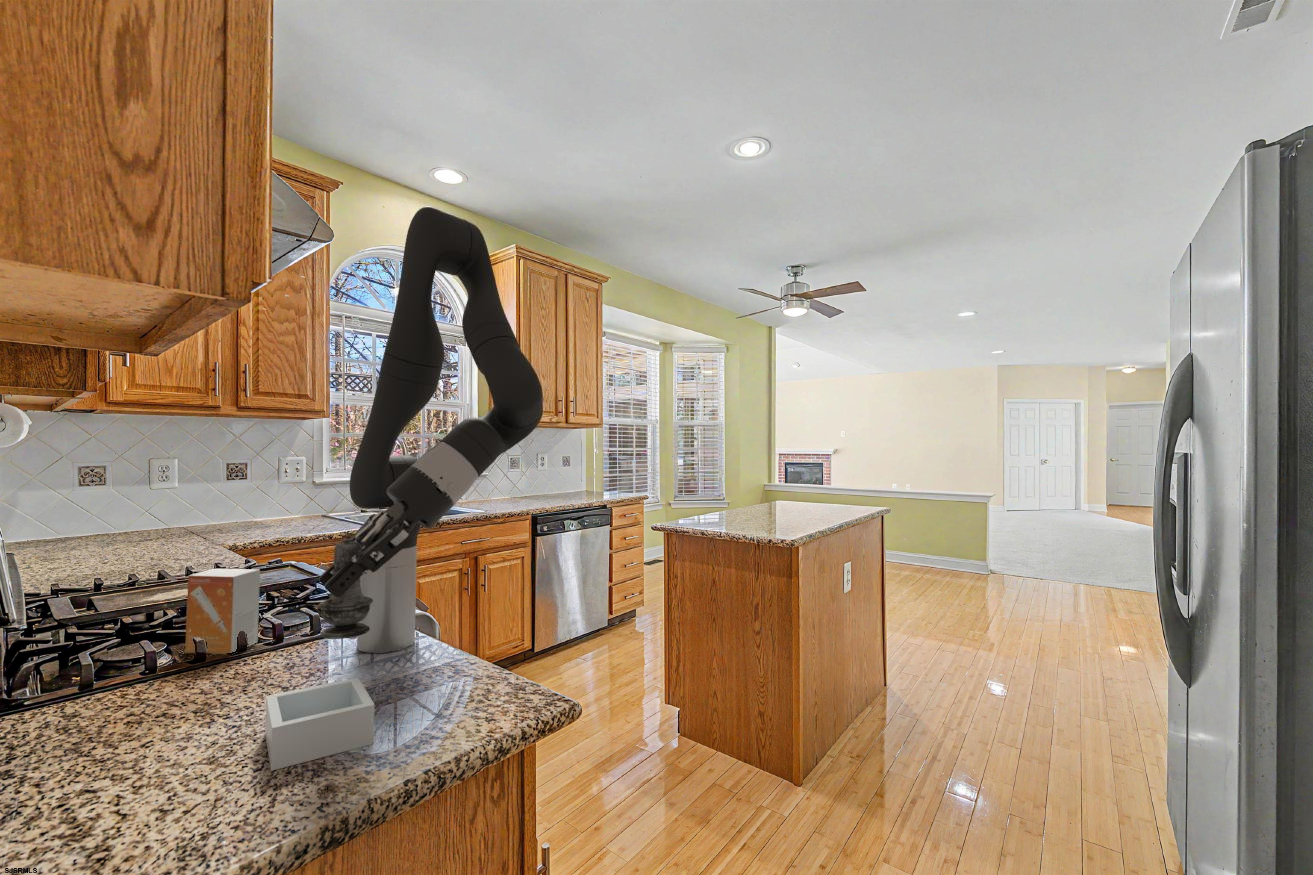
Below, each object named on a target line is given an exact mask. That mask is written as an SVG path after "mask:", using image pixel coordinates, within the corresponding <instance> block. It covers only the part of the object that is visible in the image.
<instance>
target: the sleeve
mask: <svg viewBox="0 0 1313 875" xmlns="http://www.w3.org/2000/svg"><path fill="white" fill-rule="evenodd" d="M265 698H266V699H265V720H264V721H265V723H264V724H265V728H264V730H265V732H264V735H265V736H264V737H265V742H266V749H267V754H268V761H269V767H270V771H271V772H273V771H275V770H276V771H277V770H281V769H283V768H287V767H291V766H294V765H298V764H302V763H303V764H304V763H306V762H309V761H314V760H318V759H320V758H324V757H328V756H332V755H337V754H340V753H344V752H347V751H352V750H355V749H358V748H359V749H360V748H362V747H363V748H364V747H367V746H370V745H374V744H375V742H374V738H375V735H374V734H375V703H374V700H372V698H371V696H370V695H369V693H368V692H367V690H366V688H365V686H364V685H363V683H362V682H361V680H360V678H359V677H354V678H349V679H345V680H340V681H334V682H329V683H325V684H321V685H314V686H309V687H304V688H300V689H296V690H295V689H294V690H290V691H285V692H279V693H275V694H270V695H266V696H265Z"/></svg>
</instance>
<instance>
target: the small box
mask: <svg viewBox="0 0 1313 875" xmlns="http://www.w3.org/2000/svg"><path fill="white" fill-rule="evenodd" d="M260 575H261V569H259V568H257V569H256V568H255V569H249V568H248V569H246V568H213V569H208V570H204V571H199V572H196V573H193V574H190V575H188V576H187V578H188V579H187V596H186V598H187V600H186V602H187V603H186V622H185V623H186V624H185V649H184V650H185V651H184V652H185V653H186V654H196V653H195V644H194V642H193V637H200V638H201V639H204V640H205V641H206V642H207V647H208V651H209V653H210V655H214V654H215V655H227V654H226V653H232V652H235V651H236V649H237V637H238V634H239V632H240V631H244V632H245V633H246V634H247V638H248V644H249V645H250V646H249V647H251V645H252V646H254V645H255V643H256V644H257V643H258V639H259V637H258V636H259V610H260V609H259V604H260V577H261V576H260ZM209 653H208V654H209Z"/></svg>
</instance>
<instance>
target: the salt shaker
mask: <svg viewBox="0 0 1313 875" xmlns="http://www.w3.org/2000/svg"><path fill="white" fill-rule="evenodd" d="M344 537H345V539H343V540H342V541H339V542H338V543H336V544H335V546H334V554H333V563H334V569H333V570H332V571H330V573H331V574H332V575H335V574H336V573H337V572H338V571H339V570H340V569H341V568H342V567H343V566H344V565H345V564H346V563H347V562H350V559H351V557H352V556H353V555H354V554H355V553H356V552H357V551H358V550H359V549H360V548H361V547H360V544H359V543H358V542H356V541H353V540H352V539H351V538H352V535H351V534H350V532H347V533H345V535H344ZM350 563H351V562H350ZM360 583H361V577H360V578H359V579H358V580H357V581H356V582H355V583H354V584H353V585H352V586H351V587H350V588H349V589H348V590H347V591H346V592H345V593H344V594H343V595H342V596H340V597H335V596H334V595H332V594H331V593H330V597H329V598H328V599H326V600H324V601H321V602H320V603H318V608H319V609H320V610H321V611H320V612H321V616H322V618H323V620H324V621H325V622H326V623H328V625H330V626H328V627H326V628H325V629H323V630H322V631H321V632H320V637H321V638H323V639H326V640H327V639H328V640H341V639H342V640H343V639H350V638H355V637H356V638H357V636H360V635H363V634H365V633H367V632H368V631H369V630H370V627H368V626H367V625H365V624H363V623H358V622H360V621H362V620H363V619H364V618H365V617H366V616H367V614H368V612H369V610H370V604H371V603H372V602H373V599H372V598H370V597H365V596H364V595H363V594H362V591H361V586H360Z"/></svg>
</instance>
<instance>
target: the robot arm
mask: <svg viewBox="0 0 1313 875" xmlns="http://www.w3.org/2000/svg"><path fill="white" fill-rule="evenodd" d="M436 272H440V273H444V274H447V275H450V276H453V277H454V276H455V277H457V278H458V279H459V280H460V282H461V284H462V285H463V287H464V288H465V291H466V294H467V300H466V304H465V307H464V310H463V314H462V320H461V327H462V332H463V337H464V340H465V342H466V344H467V347H468V350H469V352H470V354H471V357H472V359H473V361H474V363H475V365H476V367H477V369H478V370H479V372H480V373H481V375H483V376H484V379H485V381H486V383H487V386H488V390H489V392H490V395H491V396H490V397H491V399H492V405H493V407H492V408H491V409H490V410H489V411H488V412H487V413H485V414H484V415H482V416H481V417H479V418H478V417H474V416H470V417H467V418H465V419H464V420H461V421H460V422H459V423H458V424H457V425H456V426H455V427H454V428H453V429H451V430H450V431H449V432H448V433H447V434H446V435H445V436H444V437H443V438H442V439H441V440H440V441H439V442H438V443H436V444H435V445H434V446H432V447H431V448H429V449H428V450H427V451H426V452H424V453H423V454H422V455H421V456H420V457H419V458H418V459H417V458H415V457H414V456H412V455H406V454H405V455H402V454H401V455H400V454H392V452H393V450H394V447H395V444H396V442H397V440H398V438H399V437H400V435H401V433H402V432H403V431H404V429H405V428H406V427H407V426H408V424H409V423H410V422H411V421H413V419H414V418H415V417H416V416H418V414H419V413H420V412H421V411H422V410H423V409H424V407H426V406H427V404H428V403H429V402H430V401H431V399H432V398H433V396H434V395H435V394H436V391H437V388H438V385H439V382H440V377H441V373H442V370H443V365H444V362H445V347H444V341H443V339H442V335H441V332H440V330H439V327H438V323H437V320H436V316H435V314H434V309H433V303H432V297H433V296H432V295H433V286H434V279H435V274H436ZM496 280H497V279H496V277H495V273H494V270H493V265H492V261H491V257H490V252H489V249H488V246H487V242H486V240H485V237H484V234H483V233H482V231H481V229H480V228H479V227H478V226H477V225H476V224H474V223H473V222H471V221H468V220H467V219H465V218H461V217H460V216H457V215H454V214H451V213H449V212H447V211H444V210H442V209H440V208H436V207H433V206H426V205H425V206H423V207H421V208H419V209H418V210H417V211H416V212H415V214H414V215H413V217H412V218H411V221H410V224H409V226H408V230H407V233H406V237H405V244H404V250H403V257H402V263H401V271H400V279H399V285H398V292H397V298H396V303H395V308H394V311H393V312H394V313H393V317H392V321H391V326H390V329H389V334H388V336H387V341H386V345H385V348H384V351H383V355H382V361H381V364H380V369H379V374H378V380H377V384H376V385H377V386H376V389H375V392H374V397H373V401H372V406H371V409H370V414H369V417H368V420H367V423H366V426H365V430H364V432H363V434H362V438H361V441H360V444H359V446H358V450H357V452H356V456H355V458H354V460H353V461H354V462H353V463H352V464H353V465H352V469H351V471H350V472H351V473H350V477H349V495H350V498H351V501H352V502H353V504H354V505H355V506H356V507H357V508H360V509H365V510H367V509H369V510H370V509H372V510H373V509H386V508H387V509H386V510H384V511H383V510H380V511H378V513H372V514H370V516H368V518H367V519H366V520H365V522H364V523H363V524H362V525H361V526H360V527H359V529H358V530H356V532H355V533H354V534H353V535H351V537H350V539H352V540H353V541H356V542H358V543H359V544H360V547H361V548H360V549H359V550H358V551H357V552H356V553H355V554H354V555H353V556H352V557H351V559H350V562H351V563H350V562H347V563H346V564H345V565H344V566H343V567H342V568H341V569H340V570H339V571H338V572H337V573H336V574H335V575H332V574H331V573H330V571H332V570H333V569H334V562H333V563H332V564H331V565H330V566H329V567H328V568H327V569H326V570H325V571H324V572H323V573H322V574H321V575H320V576H319V578H318V580H319V582H320V583H321V584H322V585H323V586H324V588H325V590H326V591H328V593H330V595H331V594H332V595H334V596H335V597H340V596H342V595H343V594H344V593H345V592H346V591H347V590H348V589H349V588H350V587H351V586H352V585H353V584H354V583H355V582H356V581H357V580H358V579H359V578H360V577H361V583H360V586H361V591H362V594H363V595H364V596H365V597H370V598H372V599H373V602H372V603H371V604H370V610H369V612H368V614H367V616H366V617H365V618H364V619H363V620H362V621H360V622H358V623H363V624H365V625H367V626H368V627H370V630H369V631H368V632H367V633H365V634H363V635H360V636H356V649H357V650H358V651H360V652H362V653H367V654H368V653H369V654H382V653H384V654H385V653H391V652H390V651H392V652H396V650H397V651H399V649H400V650H404V649H407V648H409V647H410V645H411V646H413V645H414V644H415V638H416V637H415V636H416V610H417V609H416V606H417V605H416V600H417V597H416V596H417V564H418V563H417V561H418V560H417V558H418V557H417V554H418V553H417V550H418V545H417V544H418V536H419V532H420V530H421V526H422V527H423V528H424V529H425V528H426V529H432V528H433V527H435V525H436V524H437V523H438V522H439V521H440V520H441V519H442V518H443V517H444V516H445V515H446V514H447V513H448V512H449V511H450V510H451V509H452V508H453V507H454V506H455V505H456V504H457V503H458V502H459V501H460V500H461V499H462V498H463V496H465V494H467V493H468V492H469V490H470V489H471V488H472V486H473V485H474V483H475V482H476V481H477V480H478V479H479V478H480V476H482V475H483V473H484V472H486V470H487V469H488V468H489V467H490V466H491V465H492V464H493V463H495V461H496V460H497V459H498V458H499V457H500V455H503V453H505V452H507V451H509V450H510V449H512V448H513V447H514V446H516V445H518V444H519V443H520V442H521V441H524V440H525V439H526V438H527V437H528V436H529V435H530V434H532V432H534V430H535V429H536V428H537V427H538V425H539V424H540V422H541V420H542V419H543V418H542V417H543V415H544V399H543V398H544V396H543V395H544V394H543V393H544V392H543V387H542V384H541V381H540V379H539V376H538V374H537V372H536V370H535V368H534V366H532V364H531V363H530V361H529V360H528V358H527V357H526V355H525V354H524V353H523V351H522V349H521V347H520V344H519V342H518V338H516V335H515V333H514V330H513V329H512V326H511V324H510V322H509V320H508V317H507V316H506V313H505V310H504V307H503V305H502V302H501V298H500V294H499V290H498V286H497V281H496ZM408 646H409V647H408ZM403 648H404V649H403Z"/></svg>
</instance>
